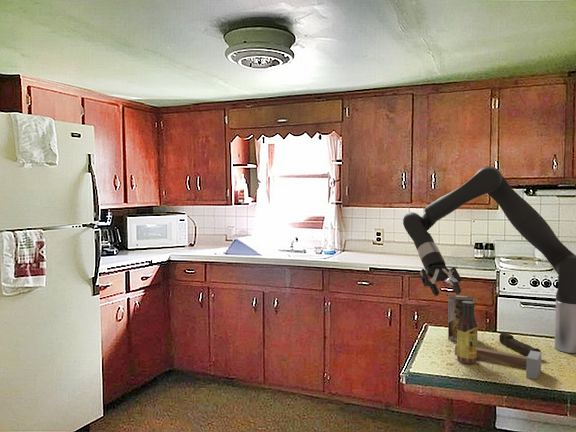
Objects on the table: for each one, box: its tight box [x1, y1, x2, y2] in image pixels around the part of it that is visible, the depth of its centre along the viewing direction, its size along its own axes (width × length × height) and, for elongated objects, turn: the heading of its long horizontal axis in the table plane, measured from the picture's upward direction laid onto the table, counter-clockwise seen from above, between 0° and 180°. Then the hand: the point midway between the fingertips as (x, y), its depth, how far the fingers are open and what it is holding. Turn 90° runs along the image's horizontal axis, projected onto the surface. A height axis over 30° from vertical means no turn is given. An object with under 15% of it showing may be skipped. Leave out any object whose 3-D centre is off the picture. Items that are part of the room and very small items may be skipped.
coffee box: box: [447, 294, 475, 342], centre depth 183 cm, size 9×6×16 cm
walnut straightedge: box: [454, 344, 527, 369], centre depth 161 cm, size 2×23×3 cm, turn 55°
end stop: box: [525, 351, 542, 380], centre depth 149 cm, size 8×3×6 cm, turn 145°
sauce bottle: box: [456, 301, 479, 365], centre depth 160 cm, size 6×6×20 cm
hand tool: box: [499, 331, 542, 356], centre depth 171 cm, size 19×4×5 cm, turn 10°
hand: (448, 294), depth 170 cm, fingers open, 8 cm apart
